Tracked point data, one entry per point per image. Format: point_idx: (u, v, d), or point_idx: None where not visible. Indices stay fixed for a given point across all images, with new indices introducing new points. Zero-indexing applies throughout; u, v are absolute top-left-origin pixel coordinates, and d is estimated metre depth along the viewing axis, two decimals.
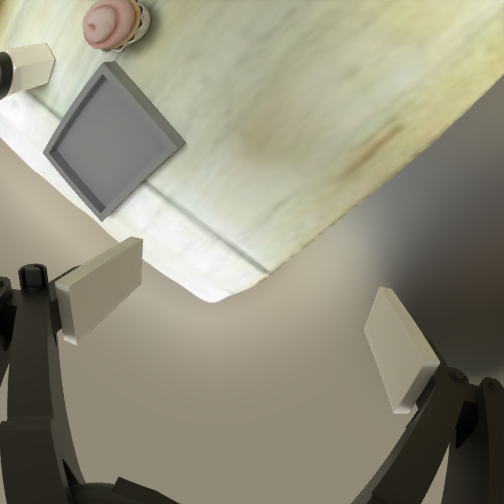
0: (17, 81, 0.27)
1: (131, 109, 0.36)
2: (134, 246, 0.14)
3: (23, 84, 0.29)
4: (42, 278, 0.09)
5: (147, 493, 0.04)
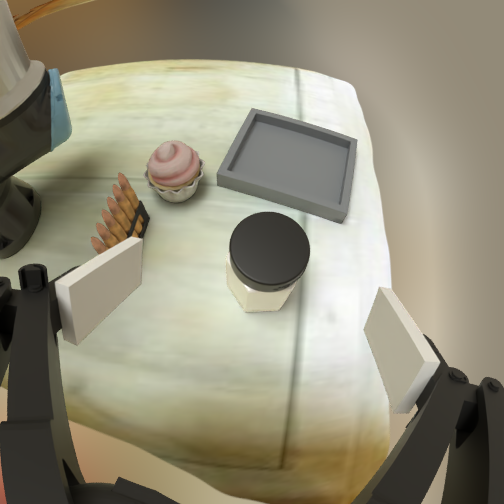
0: None
1: (248, 150, 0.49)
2: (134, 246, 0.14)
3: None
4: (42, 278, 0.09)
5: (147, 493, 0.04)
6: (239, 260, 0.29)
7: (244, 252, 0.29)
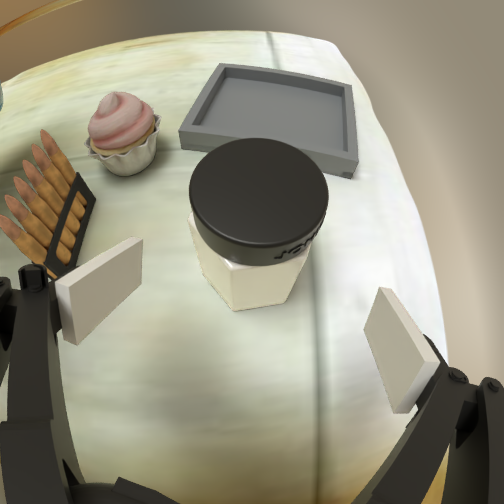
0: None
1: (218, 106, 0.36)
2: (134, 246, 0.14)
3: None
4: (42, 278, 0.09)
5: (147, 493, 0.04)
6: (207, 210, 0.16)
7: (215, 197, 0.16)
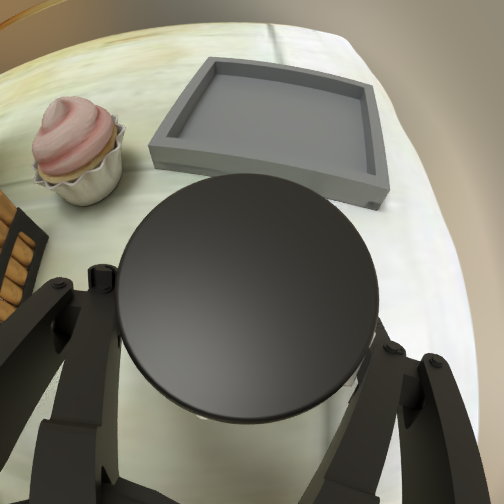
0: None
1: (205, 110, 0.28)
2: None
3: None
4: (113, 279, 0.10)
5: (147, 493, 0.04)
6: (143, 343, 0.07)
7: (159, 312, 0.08)
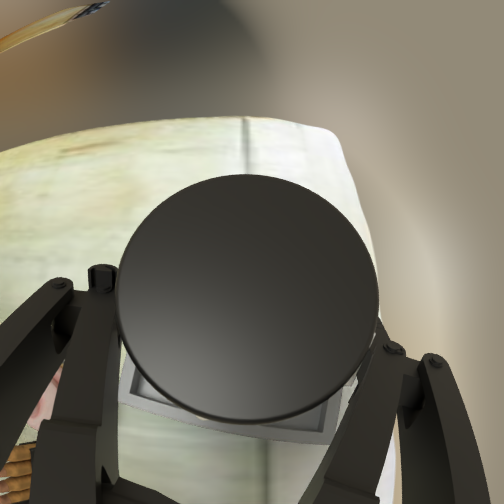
0: None
1: None
2: None
3: None
4: (113, 279, 0.10)
5: (147, 493, 0.04)
6: (143, 344, 0.07)
7: (159, 313, 0.08)
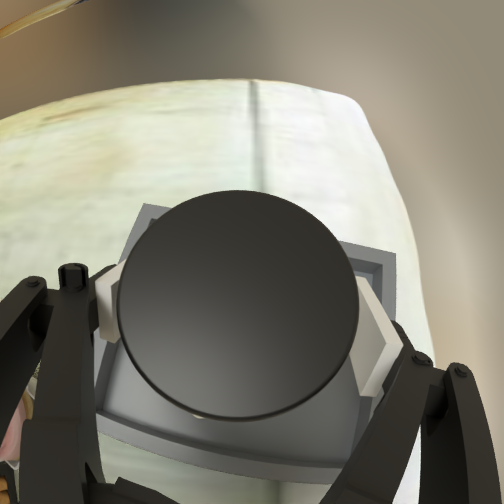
0: None
1: None
2: None
3: None
4: (83, 278, 0.10)
5: (147, 493, 0.04)
6: (143, 350, 0.08)
7: (157, 322, 0.09)
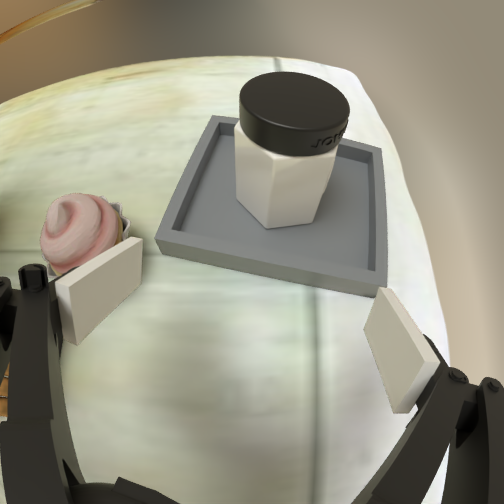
0: None
1: (210, 185, 0.30)
2: (134, 246, 0.14)
3: None
4: (42, 278, 0.09)
5: (147, 493, 0.04)
6: (256, 108, 0.18)
7: (262, 101, 0.18)
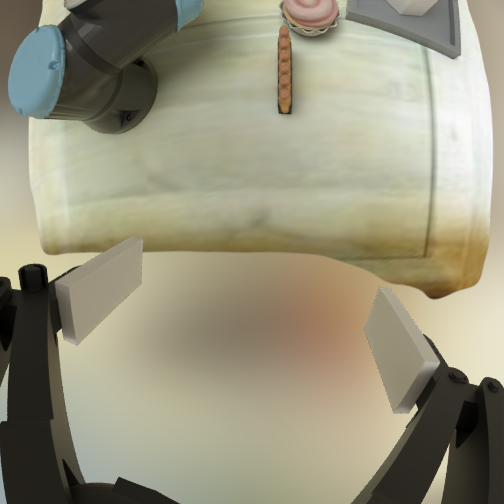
0: None
1: None
2: (134, 246, 0.14)
3: None
4: (42, 278, 0.09)
5: (147, 493, 0.04)
6: None
7: None
